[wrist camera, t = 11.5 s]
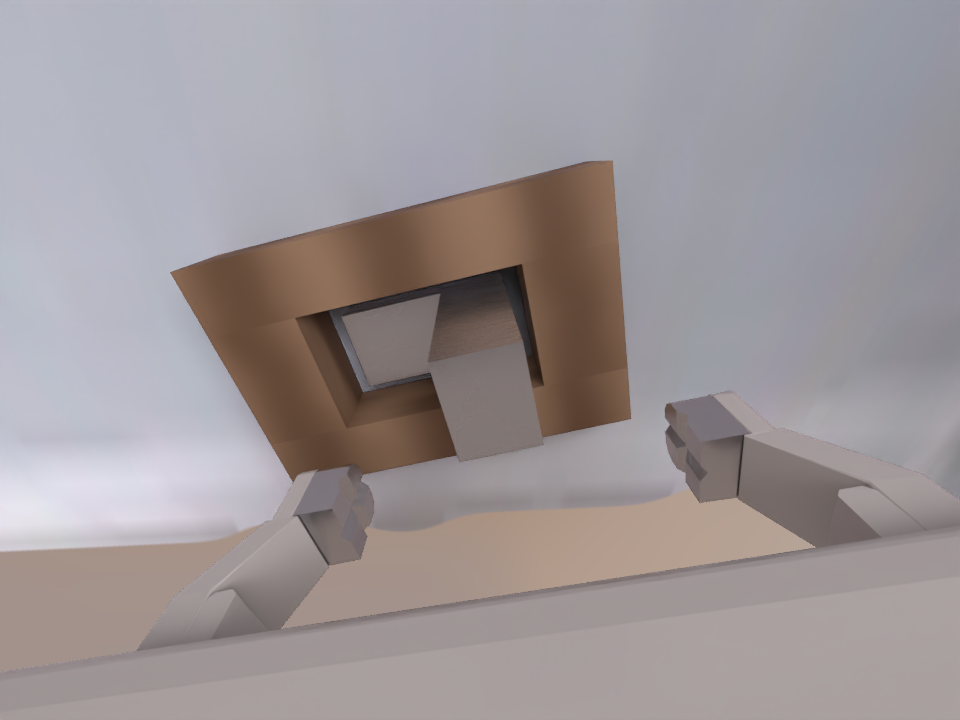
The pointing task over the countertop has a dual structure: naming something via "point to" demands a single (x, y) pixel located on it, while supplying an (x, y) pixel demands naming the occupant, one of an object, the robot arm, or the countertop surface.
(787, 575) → the robot arm
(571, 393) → the well block
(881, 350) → the countertop surface
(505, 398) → the angle bracket
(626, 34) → the countertop surface
